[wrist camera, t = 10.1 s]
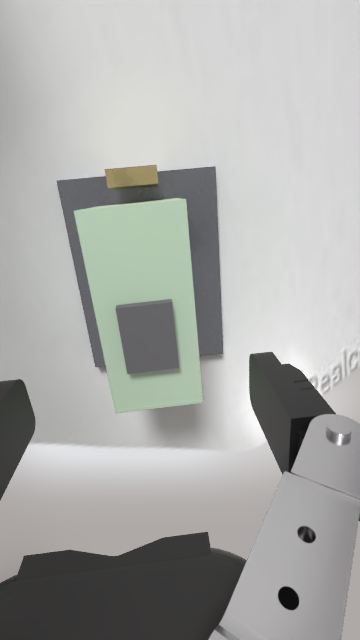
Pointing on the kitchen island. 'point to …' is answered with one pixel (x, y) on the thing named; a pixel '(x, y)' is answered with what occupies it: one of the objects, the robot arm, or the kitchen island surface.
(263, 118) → the kitchen island surface
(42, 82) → the kitchen island surface
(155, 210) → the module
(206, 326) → the metal plate
